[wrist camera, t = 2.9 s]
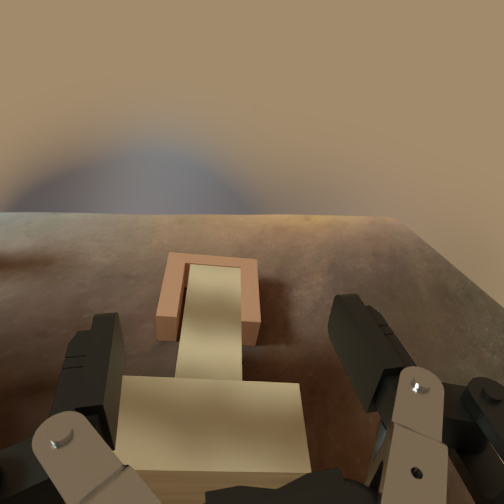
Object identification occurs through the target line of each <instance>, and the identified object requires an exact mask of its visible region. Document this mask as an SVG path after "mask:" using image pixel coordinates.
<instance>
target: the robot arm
mask: <svg viewBox="0 0 504 504" xmlns="http://www.w3.org/2000/svg"><path fill="white" fill-rule="evenodd" d="M328 334H329V338H330V340H331V342H332V344H333V346H334V348H335V350H336V352H337V354H338V356H339V358H340V360H341V362H342V365H343V367H344V369H345V371H346V373H347V375H348V377H349V379H350V381H351V383H352V385H353V387H354V389H355V391H356V393H357V395H358V397H359V399H360V401H361V403H362V405H363V407H364V409H365V411H366V413H369V412H375V411H378V413H379V415H380V417H381V418H380V420H379V424H378V428H377V433H376V438H375V442H374V447H373V452H372V456H371V461H370V466H369V470H368V473H367V476H366V479H365V482H364V484H362V483H360V482H357V481H355V480H351V479H347V478H343V477H342V475H341V472H340V469H339V467H338V468H332V469H327V470H321V471H316V472H310V473H307V474H305V475H303V476H301V477H299V478H297V479H295V480H293V481H291V482H290V483H288V484H286V485H284V486H282V487H280V488H277V489H270V488H260V487H250V486H240V485H239V486H234V487H229V488H223V489H218V490H212V491H207V492H205V503H203V504H446V493H447V467H448V455H449V457H450V459H451V461H452V463H453V464H454V466H455V468H456V470H457V471H458V473H459V475H460V477H461V478H462V480H463V482H464V484H465V486H466V487H467V489H468V491H469V493H470V494H471V496H472V498H473V500H474V502H475V503H476V504H504V464H503V462H504V386H502V385H501V384H499V383H498V382H496V381H494V380H491V379H488V378H484V377H477V378H473V379H472V380H471V381H470V382H469V383H468V385H467V386H461V385H454V384H448V383H443V382H441V381H440V380H439V379H438V378H437V377H436V376H435V375H434V374H433V373H431V372H430V371H428V370H426V369H424V368H421V367H417V366H416V364H415V363H414V361H413V360H412V359H411V357H410V356H409V354H408V353H407V351H406V350H405V348H404V347H403V345H402V344H401V343H400V341H399V340H398V338H397V337H396V335H394V332H393V331H392V329H391V328H390V327H388V324H387V322H386V321H385V319H384V318H383V316H382V315H381V314H380V313H379V312H378V311H376V310H375V309H374V308H372V307H371V306H370V305H369V306H365V305H364V304H363V302H362V301H361V299H360V298H359V296H358V295H357V294H355V293H353V294H341V295H336V296H335V298H334V301H333V305H332V309H331V313H330V317H329V321H328ZM123 367H124V342H123V336H122V331H121V325H120V320H119V315H118V313H105V314H95V315H94V318H93V322H92V327H91V330H86V331H78V332H77V334H76V335H75V336H74V337H73V339H72V340H71V341H70V342H69V344H68V348H67V351H66V355H65V360H64V363H63V366H62V371H61V374H60V378H59V382H58V385H57V389H56V393H55V397H54V400H53V404H52V408H51V412H50V414H49V417H48V419H47V420H46V421H44V422H43V423H42V424H41V425H40V427H39V428H38V429H37V431H36V432H35V434H33V435H32V436H30V437H29V438H27V439H26V440H24V441H22V442H19V443H17V444H15V445H12V446H10V447H8V448H5V449H3V450H0V504H162V503H161V501H160V500H159V499H158V498H157V497H156V495H155V494H154V493H153V492H152V490H151V489H150V488H149V487H148V486H147V484H146V483H145V482H144V481H143V479H142V478H141V477H140V476H139V475H138V473H137V472H136V471H135V470H134V469H133V468H132V467H131V466H130V465H124V464H123V463H122V462H121V461H120V460H119V458H118V457H117V456H116V455H115V453H114V452H113V451H114V450H115V446H116V436H117V426H118V416H119V406H120V397H121V387H122V377H123ZM490 443H491V444H492V446H493V447H494V449H495V450H496V452H497V453H498V455H499V456H500V457H501V459H502V460H503V462H502V461H501V459H500V458H499V456H498V455H497V453H496V452H495V450H494V449H493V447H492V446H491V444H490Z"/></svg>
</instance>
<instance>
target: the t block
mask: <svg viewBox="0 0 504 504" xmlns="http://www.w3.org/2000/svg"><path fill="white" fill-rule="evenodd" d="M113 452H114V453H115V455H116V456H117V457H118V458H119V460H120V461H121V462H122V463H123V464H124V465H130V466H131V467H132V468H133V469H134V470H135V471H136V472H137V473H138V475H139V476H140V477H141V478H142V479H143V481H144V482H145V483H146V484H147V486H148V487H149V488H150V489H151V490H152V492H153V493H154V494H155V495H156V497H157V498H158V499H159V500H160V501H161V503H162V504H203V503H205V492H207V491H212V490H218V489H223V488H229V487H234V486H239V485H240V486H250V487H260V488H270V489H277V488H280V487H282V486H284V485H286V484H288V483H290V482H291V481H293V480H295V479H297V478H299V477H301V476H303V475H305V474H307V473H310V472H311V466H310V459H309V452H308V445H307V437H306V430H305V423H304V416H303V409H302V402H301V395H300V388H299V383H280V382H257V381H242V337H241V268H233V267H220V266H208V265H195V264H190V271H189V278H188V286H187V293H186V300H185V307H184V315H183V322H182V329H181V336H180V344H179V351H178V358H177V365H176V373H175V378H167V377H145V376H123V377H122V387H121V397H120V406H119V416H118V426H117V436H116V446H115V450H114V451H113Z"/></svg>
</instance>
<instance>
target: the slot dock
mask: <svg viewBox="0 0 504 504" xmlns="http://www.w3.org/2000/svg"><path fill="white" fill-rule="evenodd" d="M190 264H195V265H208V266H220V267H233V268H241V337H242V345H246V346H255V345H256V341H257V337H258V332H259V328H260V324H261V316H260V300H259V285H258V270H257V259H245V258H233V257H221V256H209V255H197V254H185V253H173V252H169V256H168V261H167V265H166V270H165V275H164V280H163V284H162V289H161V294H160V299H159V303H158V308H157V313H156V330H157V341H175V342H176V340H177V333H178V327H179V320H180V313H181V306H182V299H183V292H184V287H187V286H188V278H189V271H190Z"/></svg>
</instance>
